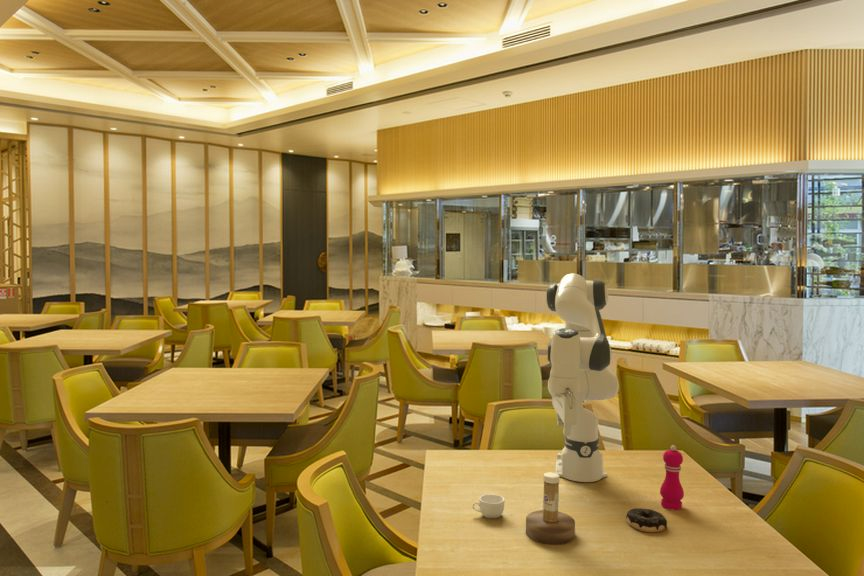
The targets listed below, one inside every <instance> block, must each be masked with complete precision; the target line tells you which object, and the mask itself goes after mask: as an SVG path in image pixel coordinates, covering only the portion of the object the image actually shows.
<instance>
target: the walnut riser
mask: <svg viewBox="0 0 864 576" xmlns="http://www.w3.org/2000/svg"><path fill="white" fill-rule="evenodd" d="M525 534H526V536H527V537H528V538H529V539H531V540H533V541H534V542H538V543H540V544H545V545H554V546H555V545H557V546H558V545H565V544H568V543H571V542H572V541H573V540H574V539H575V535H576V520H575V519H574V518H573V516H571V515H569V514H567V513H565V512H561V511H558V521H556V522H552V523H551V522H546V521H544V520H543V509H542V510H541V509H540V510H536V511H532V512H530V513H528V514H527V515H526V517H525Z"/></svg>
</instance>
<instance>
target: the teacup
mask: <svg viewBox="0 0 864 576" xmlns="http://www.w3.org/2000/svg"><path fill="white" fill-rule="evenodd" d="M505 500H506V499H505V498H504V496H502V495H501V494H500V495H499V494H496V493H487V494H482V495H480V496H479V498H478V501H475V502H473V503H472V509H473V510H474V511H475V512H478V513H481V514H482V515H483V516H484V517H485V518H487V519H491V518H492V519H497V518H500V517H501V516H502V515H503V513H504V510H505ZM475 505H478V507H479V509H477V508H475ZM492 519H491V520H492Z"/></svg>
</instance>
